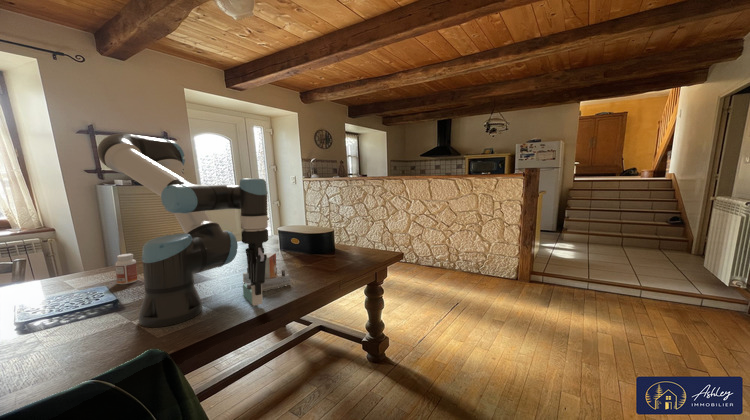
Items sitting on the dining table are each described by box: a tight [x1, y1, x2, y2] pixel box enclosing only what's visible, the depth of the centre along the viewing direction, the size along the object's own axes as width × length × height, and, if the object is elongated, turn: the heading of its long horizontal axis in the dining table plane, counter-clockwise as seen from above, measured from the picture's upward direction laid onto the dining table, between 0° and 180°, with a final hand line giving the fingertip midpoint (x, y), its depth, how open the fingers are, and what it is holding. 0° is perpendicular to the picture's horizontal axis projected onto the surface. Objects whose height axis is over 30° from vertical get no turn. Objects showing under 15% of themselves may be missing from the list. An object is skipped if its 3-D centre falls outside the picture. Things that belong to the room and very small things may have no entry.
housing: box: [242, 267, 291, 293], centre depth 109 cm, size 13×15×6 cm
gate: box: [242, 283, 252, 305], centre depth 94 cm, size 2×11×5 cm, turn 40°
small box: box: [263, 252, 278, 279], centre depth 109 cm, size 8×6×10 cm
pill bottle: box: [114, 253, 138, 286], centre depth 111 cm, size 6×6×11 cm
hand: (257, 303), depth 88 cm, fingers closed
